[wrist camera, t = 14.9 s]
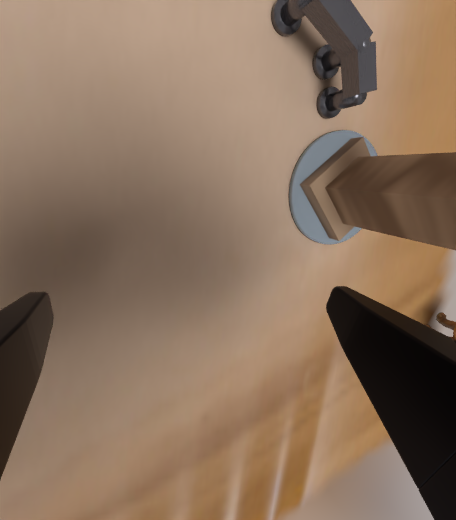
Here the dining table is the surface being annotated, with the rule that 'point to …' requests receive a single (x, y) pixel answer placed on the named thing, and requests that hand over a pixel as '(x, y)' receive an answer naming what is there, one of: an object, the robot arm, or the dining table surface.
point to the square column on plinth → (386, 194)
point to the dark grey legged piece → (334, 48)
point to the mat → (303, 169)
